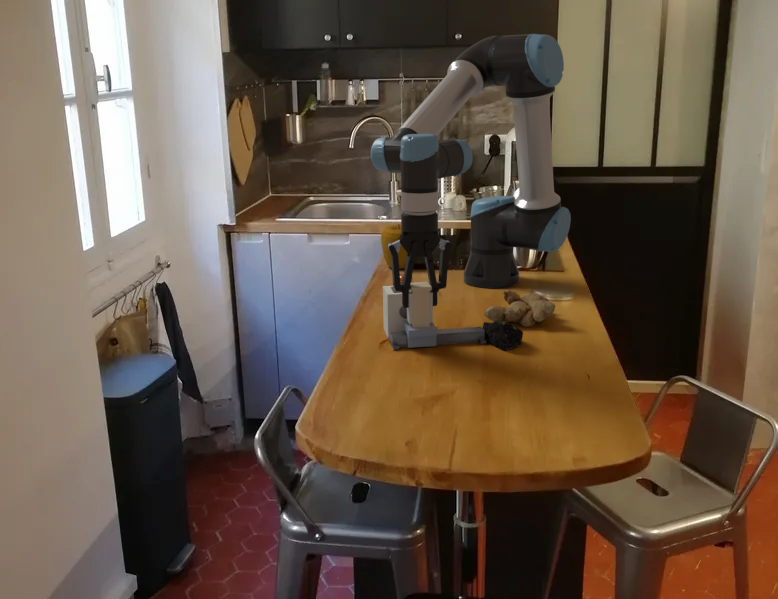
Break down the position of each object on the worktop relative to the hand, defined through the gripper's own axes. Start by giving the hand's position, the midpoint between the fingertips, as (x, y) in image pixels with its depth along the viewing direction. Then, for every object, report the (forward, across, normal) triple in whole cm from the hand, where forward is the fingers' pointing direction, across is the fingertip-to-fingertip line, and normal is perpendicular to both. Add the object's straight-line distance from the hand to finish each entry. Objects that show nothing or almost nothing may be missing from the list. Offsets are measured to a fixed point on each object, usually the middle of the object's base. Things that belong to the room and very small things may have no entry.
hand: (419, 320), depth 167 cm
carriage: (+5, 0, 0) cm, 5 cm away
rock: (+6, -17, +2) cm, 18 cm away
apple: (+5, -7, -68) cm, 68 cm away
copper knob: (-2, +2, -8) cm, 8 cm away
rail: (+5, -4, 0) cm, 6 cm away
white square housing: (+5, +2, -8) cm, 10 cm away
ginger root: (+6, -27, -11) cm, 30 cm away
